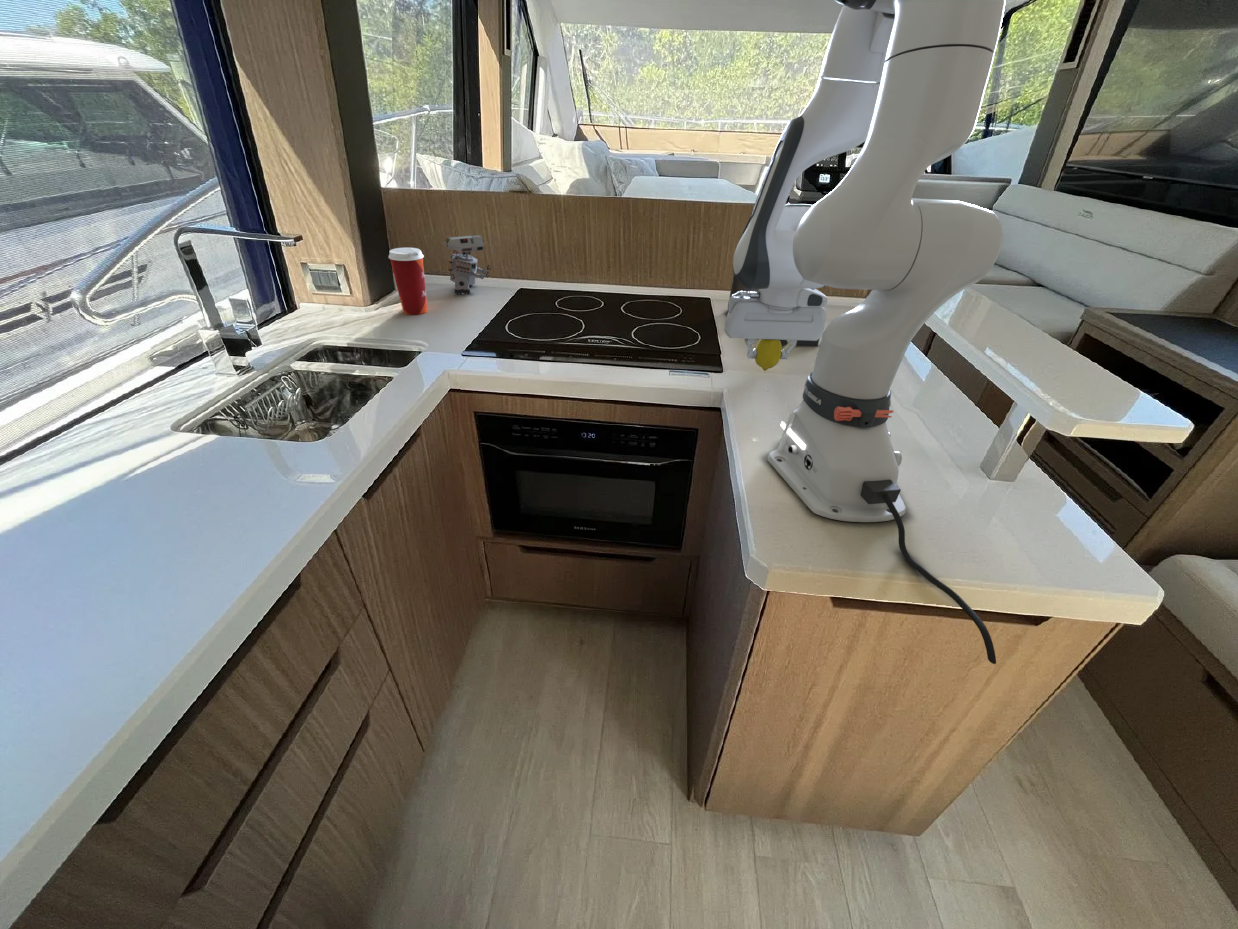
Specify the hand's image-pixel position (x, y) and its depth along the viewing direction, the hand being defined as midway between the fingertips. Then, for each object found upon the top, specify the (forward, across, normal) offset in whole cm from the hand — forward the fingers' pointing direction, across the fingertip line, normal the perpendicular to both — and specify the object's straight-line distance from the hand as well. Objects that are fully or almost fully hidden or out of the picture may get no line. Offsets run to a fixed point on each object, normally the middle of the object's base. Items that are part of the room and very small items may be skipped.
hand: (767, 358), depth 112 cm
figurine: (+3, -72, +55) cm, 90 cm away
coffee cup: (+3, -83, +35) cm, 90 cm away
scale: (+3, +13, +26) cm, 29 cm away
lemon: (+3, 0, 0) cm, 3 cm away
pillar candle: (+3, +6, +40) cm, 40 cm away
